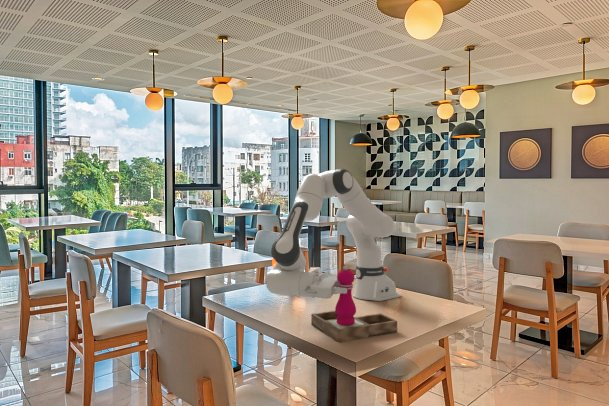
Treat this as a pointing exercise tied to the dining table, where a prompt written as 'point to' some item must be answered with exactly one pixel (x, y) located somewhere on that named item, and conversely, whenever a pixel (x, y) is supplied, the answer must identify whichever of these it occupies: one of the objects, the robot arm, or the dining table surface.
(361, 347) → the dining table surface
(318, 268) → the die
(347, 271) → the pepper mill
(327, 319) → the box
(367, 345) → the dining table surface
